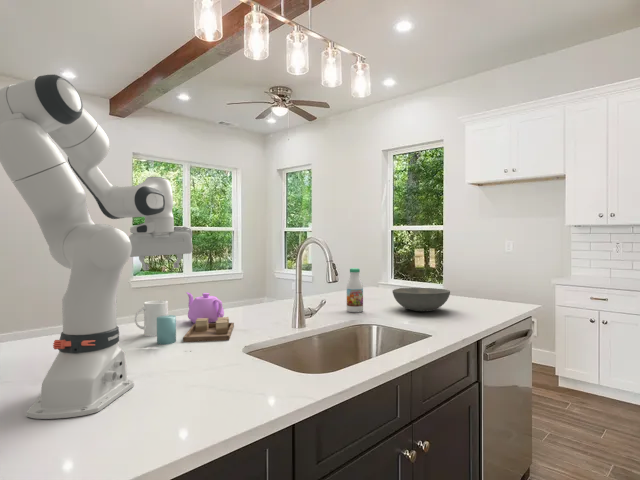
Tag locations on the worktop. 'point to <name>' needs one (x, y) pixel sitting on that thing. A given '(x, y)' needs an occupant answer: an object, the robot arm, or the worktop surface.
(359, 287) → the milk bottle
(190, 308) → the teapot
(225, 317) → the oak block
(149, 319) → the mug
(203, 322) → the oak block
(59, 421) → the worktop surface
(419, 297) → the bowl
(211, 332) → the walnut tray
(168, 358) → the worktop surface
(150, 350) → the worktop surface
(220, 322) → the oak block
